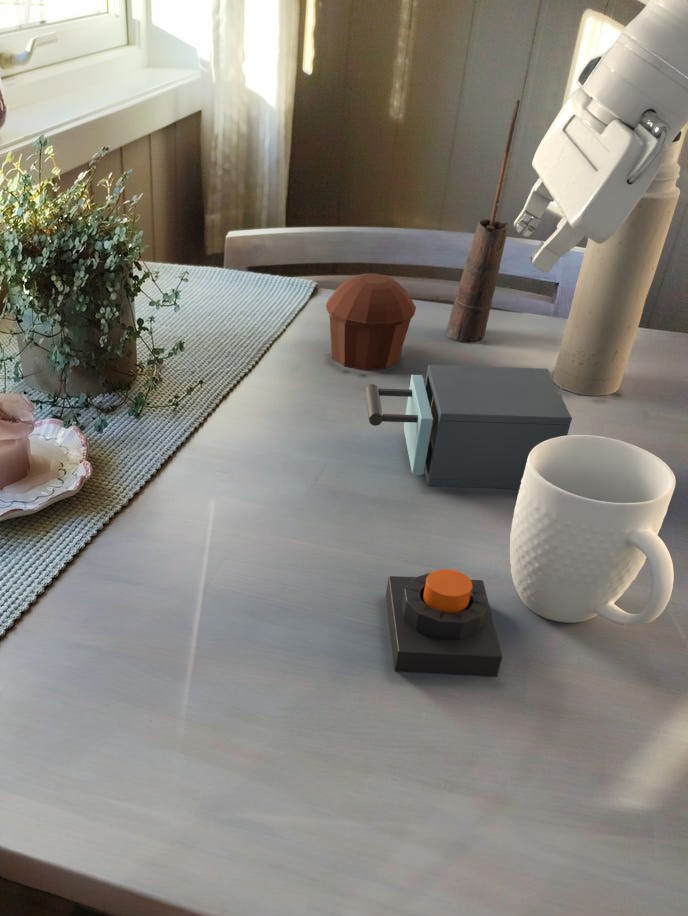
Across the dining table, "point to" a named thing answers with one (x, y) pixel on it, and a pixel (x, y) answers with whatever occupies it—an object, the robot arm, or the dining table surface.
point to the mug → (590, 529)
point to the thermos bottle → (616, 290)
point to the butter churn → (481, 269)
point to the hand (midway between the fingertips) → (528, 248)
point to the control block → (441, 632)
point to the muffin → (369, 321)
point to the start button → (447, 591)
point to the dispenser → (490, 423)
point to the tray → (408, 418)
